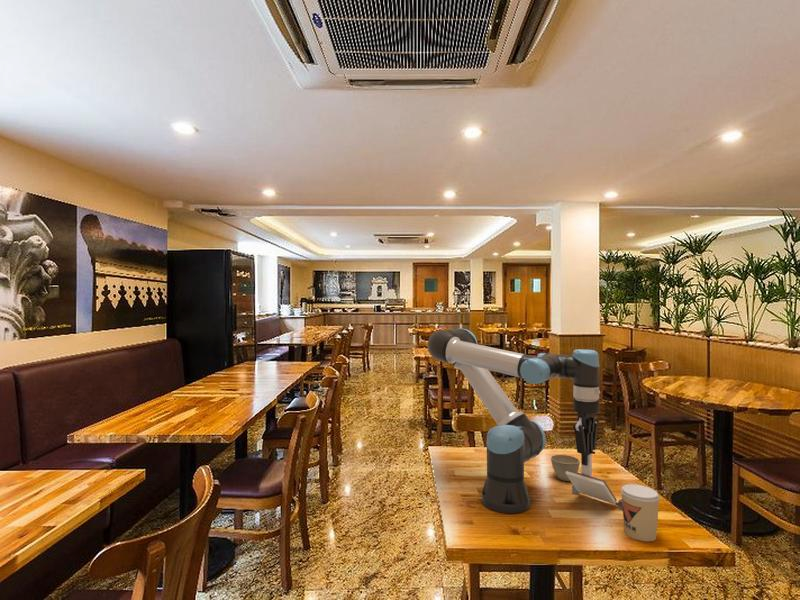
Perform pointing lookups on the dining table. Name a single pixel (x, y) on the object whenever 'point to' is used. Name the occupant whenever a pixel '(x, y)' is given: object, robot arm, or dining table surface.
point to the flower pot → (564, 465)
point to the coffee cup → (640, 511)
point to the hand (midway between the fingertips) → (586, 474)
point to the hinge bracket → (600, 499)
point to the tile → (591, 486)
